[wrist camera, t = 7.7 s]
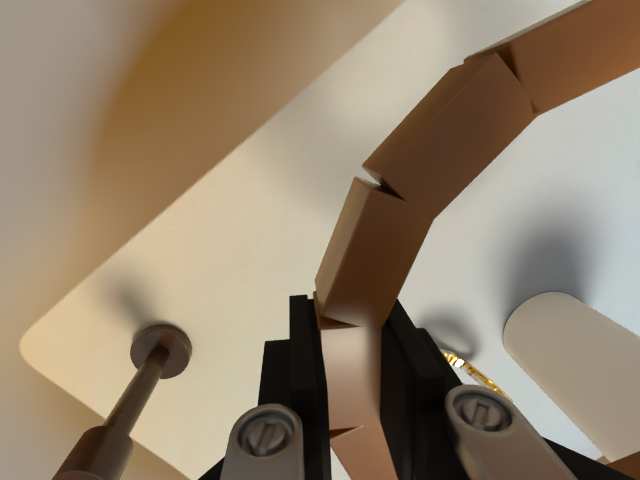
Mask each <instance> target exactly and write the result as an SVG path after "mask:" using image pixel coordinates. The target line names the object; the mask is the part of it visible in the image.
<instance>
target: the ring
mask: <svg viewBox="0 0 640 480" xmlns="http://www.w3.org/2000/svg"><path fill="white" fill-rule="evenodd" d="M638 68H640V0H582V1H580V2H578V3H576V4H574V5H572V6H570V7H568V8H566V9H564V10H562V11H560V12H558V13H556V14H554V15H552V16H549V17H547V18H545V19H543V20H541V21H539V22H537V23H535V24H533V25H531V26H529V27H527V28H525V29H523V30H521V31H519V32H517V33H515V34H513V35H511V36H509V37H507V38H505V39H503V40H501V41H499V42H497V43H495V44H493V45H491V46H489V47H486V48H484V49H482V50H480V51H478V52H476V53H474V54H472V55H470V56H468V57H466V58H465V59H464V64H462V65H459V66H456V67H454V68H451V69H450V70H449V71H448V72H447V73H446V74H445V75H444V76H443V77H442V78H441V79H440V80H439V82H438V83H437V84H436V85H435V86H434V87H433V88H432V89H431V90H430V91H429V92H428V94H427V95H426V96H425V97H424V98H423V99H422V100H421V101H420V102H419V103H418V104H417V106H416V107H415V108H414V109H413V110H412V111H411V112H410V113H409V114H408V115H407V116H406V118H405V119H404V120H403V121H402V122H401V123H400V124H399V125H398V126H397V127H396V128H395V130H394V131H393V132H392V133H391V134H390V135H389V136H388V137H387V138H386V139H385V140H384V141H383V143H382V144H381V145H380V146H379V147H378V148H377V149H376V150H375V151H374V152H373V153H372V155H371V156H370V157H369V158H368V159H367V160H366V161H365V162H364V163H363V164H362V168H363V169H364V170H366V171H367V172H368V173H369V174H370V175H371V176H372V177H373V178H374V179H375V180H376V181H377V182H378V183H379V184H380V185H379V184H376V183H373V182H370V181H368V180H365V179H362V178H359V177H355V178H354V180H353V182H352V185H351V187H350V190H349V193H348V195H347V198H346V200H345V203H344V206H343V208H342V211H341V213H340V216H339V219H338V221H337V224H336V226H335V229H334V231H333V234H332V237H331V239H330V242H329V244H328V247H327V250H326V252H325V255H324V257H323V260H322V262H321V265H320V268H319V270H318V273H317V275H316V278H315V285H316V291H314V292H313V300H314V307H315V314H316V322H317V329H318V331H319V332H320V339H321V346H322V353H323V360H324V366H325V373H326V380H327V390H328V408H329V431H330V446H331V448H332V449H333V451H334V453H335V454H336V456H337V457H338V459H339V461H340V462H341V464H342V465H343V467H344V469H345V470H346V472H347V473H348V475H349V477H350V478H351V480H398V478H397V475H396V472H395V469H394V465H393V462H392V459H391V456H390V452H389V449H388V446H387V443H386V439H385V436H384V433H383V430H382V426H381V423H380V400H381V339H382V326H384V325H385V323H386V321H387V318H388V316H389V314H390V312H391V310H392V308H393V306H394V303H395V301H396V299H397V297H398V295H399V293H400V291H401V288H402V286H403V284H404V282H405V280H406V278H407V276H408V273H409V271H410V269H411V267H412V265H413V263H414V261H415V258H416V256H417V254H418V252H419V250H420V248H421V246H422V243H423V241H424V239H425V237H426V235H427V233H428V231H429V228H430V226H431V224H432V222H433V220H434V219H435V218H436V217H437V216H438V215H439V214H440V213H441V212H442V211H443V210H444V209H445V208H446V207H447V206H448V205H449V204H450V203H451V202H452V201H453V200H454V199H455V198H456V197H457V196H458V195H459V194H460V193H461V192H462V191H463V190H464V189H465V188H466V187H467V186H468V185H469V184H470V183H471V182H472V181H473V180H474V179H475V178H476V177H477V176H478V175H479V174H480V173H481V172H482V171H483V170H484V169H485V168H486V167H487V166H488V165H489V164H490V163H491V162H492V161H493V160H494V159H495V158H496V157H497V156H498V155H499V154H500V153H501V152H502V151H503V150H504V149H505V148H506V147H507V146H508V145H509V144H510V143H511V142H512V141H513V140H514V139H515V138H516V137H517V136H518V135H519V134H520V133H521V132H522V131H523V130H524V129H525V128H526V127H527V126H528V125H529V124H530V123H531V122H532V121H533V120H534V119H535V118H536V117H537V116H539V115H541V114H543V113H545V112H547V111H549V110H551V109H553V108H556V107H558V106H560V105H562V104H564V103H566V102H568V101H570V100H572V99H575V98H577V97H579V96H581V95H583V94H585V93H587V92H589V91H591V90H593V89H596V88H598V87H600V86H602V85H604V84H606V83H608V82H610V81H612V80H615V79H617V78H619V77H621V76H623V75H625V74H627V73H629V72H631V71H633V70H636V69H638ZM606 466H608V467H610V468H612V469H614V470H617V471H619V472H621V473H623V474H625V475H628V476H630V477H632V478H634V479H637V480H640V451H638V452H636V453H633V454H631V455H628V456H626V457H623V458H621V459H618V460H616V461H613V462H611V463H608V464H606Z"/></svg>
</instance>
